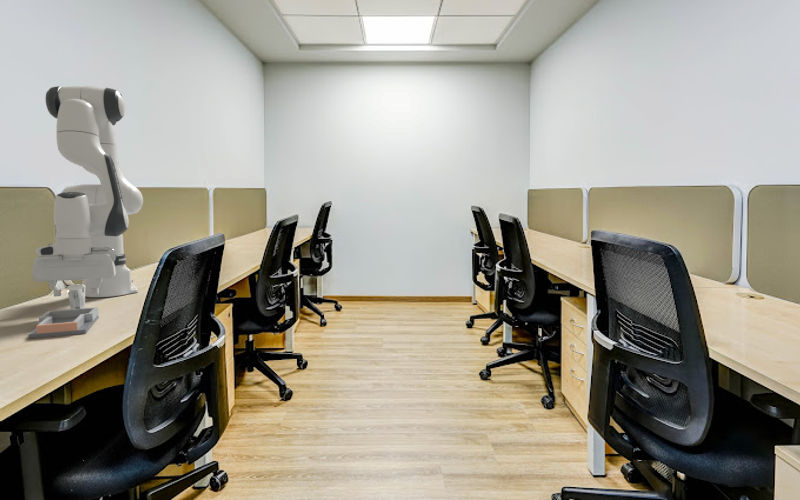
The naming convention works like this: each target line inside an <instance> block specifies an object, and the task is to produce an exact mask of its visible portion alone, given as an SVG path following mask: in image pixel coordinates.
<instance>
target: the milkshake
mask: <svg viewBox="0 0 800 500" xmlns="http://www.w3.org/2000/svg"><path fill="white" fill-rule="evenodd" d="M85 282H86V280H85V281H84V284H83V283H82V284H79V283H74V284H70V285H68V286H67V287H66V290H67V291H66V292H67V296H68V303H69V307H70V309H83V308H86V296H85V288H86V287H85Z"/></svg>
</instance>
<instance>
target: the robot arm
mask: <svg viewBox="0 0 800 500" xmlns="http://www.w3.org/2000/svg"><path fill="white" fill-rule="evenodd" d="M45 104H46V105H45V106H46V108H47V111H48V112H49V114H50V116H52V117H53V118H55V119H56V145H57V150H58V151H59V153H60V155H61V156H62V157H63V158H64V159H66V160H67V161H68V162H70V163H73V164H75V165H76V166H78V167H82V169H84V170H85V171H86V172H88V173H89V174H90V173H91V174H92V175H95V176H96V177H97V178H98V179H99V182H100V184H92V183H91V184H90V183H89V184H88V183H87V184H85V183H83V184H75V185H70V186H66V187H65V188H64V189H63V190H62V192H61V193H57V194H56V195H55V199H54V205H53V206H54V208H53V223H54V228H55V230H56V233H55V235H54V236H55V237H54V241H55V242H54V243H49V244H47V245H44V246H41V247H38V248H36V249H35V254H36V256H37V257H36V258H34V260H33V261H32V262H33V263H32V275H31V276H32V280H33V281H35V282H37V283H39V282H47V283H48V286H49V288H50V289H51V290H52V291H53V297H61V296H62V290H61V289H58V288H57V287H56V284H57V282H61V281H78V280H80V281H82V282H81V283H82V285H83V284H84V281H85V280H86V282H85V287H86V288H85V298H86V297H87V298H110V297H119V296H123V295H127V294H128V295H129V294H133V293H134V294H135V293H138V292H139V289H138V287H137V286H136V285H135V284H134V283H133V282H134V281H133V279H132V276H131V269H130V268H128V267H127V265H126V264H127V258H126V254H125V252H124V251H125V250H124V235H123V234H124V233H125V232H126V231H127V230H128V229H129V224H130V221H129V215H134V214H138V213H139V212H140V211H141V209H142V208H143V204H144V197H143V193H142V192H141V191H140V190H139V188H137V187H136V186H134V185H133V184H132V183H130V181H129V180H128V179H127V178H126V177H125V175H124V174H123V172H122V170H121V167H120V164H119V158H118V150H117V140H116V139H117V138H116V133H115V128H114V126H115V125H116V124H117V123H118V122H120V121H121V120H122V118H124V116H125V113H126V103H125V100H124V97H123V96H122V94H121V93H120V91H119V90H117V89H114V88H109V87H106V88H103V87H98V86H88V85H83V86H79V85H78V86H73V85H72V86H63V85H59V86H53V87H50V88H49V89H48V90H47V91H46V93H45Z"/></svg>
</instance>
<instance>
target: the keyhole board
mask: <svg viewBox="0 0 800 500" xmlns="http://www.w3.org/2000/svg"><path fill="white" fill-rule="evenodd" d="M99 318H100V317H99V306H98V307H85V308H83V309H69V308H68V309H57V310H47V311H46V312H45V313H43V314H42V315H41V316H39V317H38V324H37V325H36V328H34V329H33V330H32V331H30V332H29V333H28V334H27V337H28V339H38V338H50V337H51V338H52V337H62V336H63V337H64V336H71V335H82V334H83V335H85V334H87V333H88V331H89V330H90V329H91V328H92V327H93V325H94V324H95V323H96V322H97V320H98V319H99Z"/></svg>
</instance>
